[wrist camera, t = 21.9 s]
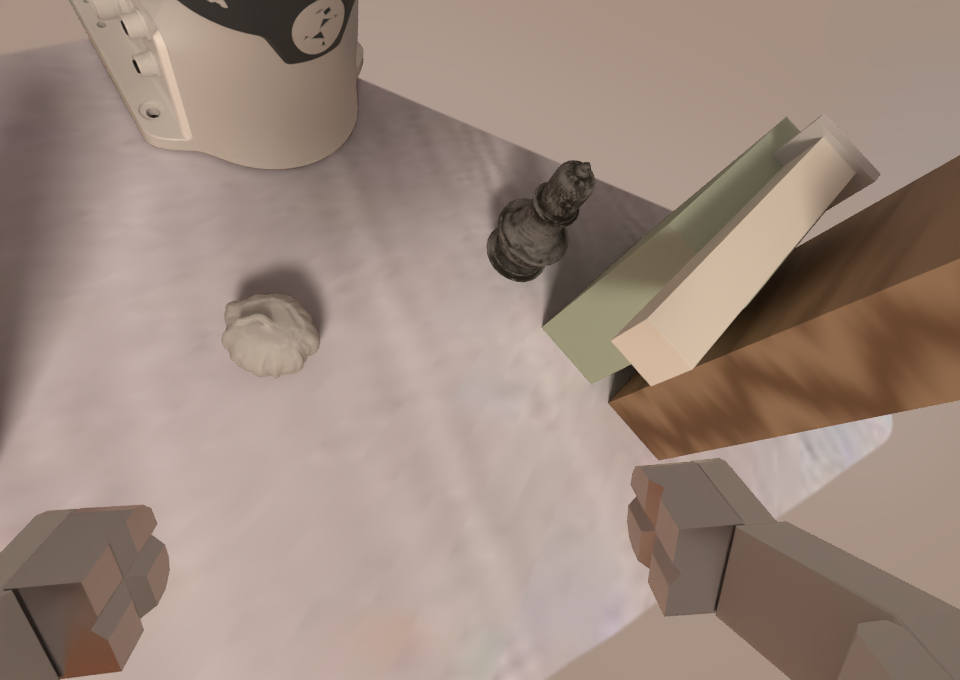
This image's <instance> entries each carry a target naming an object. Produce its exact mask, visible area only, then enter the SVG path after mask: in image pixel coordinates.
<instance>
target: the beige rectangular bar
mask: <svg viewBox="0 0 960 680" xmlns="http://www.w3.org/2000/svg"><path fill="white" fill-rule="evenodd" d="M772 156H773V157H774V158H775V159H776V160H777V161H778V162H779V163H780V164H781V165H782V166H783V167H782V168H781V169H780V170H779V171H778V172H777V173H776V174H775V175H774V176H773V177H772V178H771V179H770V180H769V182H768V183H767V184H766V185H765V186H764V187H763V188H762V189H761V190H760V191H759V192H758V193H757V194H756V195H755V196H754V197H753V198H752V199H751V200H750V201H749V202H748V203H747V204H746V205H745V206H744V207H743V208H742V209H741V210H740V211H739V212H738V213H737V214H736V215H735V216H734V217H733V218H732V219H731V220H730V221H729V222H728V223H727V224H726V225H725V226H724V227H723V228H722V229H721V230H720V231H719V232H718V233H717V234H716V235H715V236H714V237H713V238H712V239H711V240H710V241H709V242H708V243H707V244H706V245H705V246H704V247H703V248H702V249H701V250H700V251H699V252H698V253H697V254H696V255H695V256H694V257H693V258H692V259H691V260H690V261H689V262H688V263H687V264H686V265H685V266H684V267H683V268H682V269H681V270H680V271H679V272H678V273H677V274H676V275H675V276H674V277H673V278H672V279H671V280H670V281H669V282H668V283H667V284H666V285H665V286H664V287H663V288H662V289H661V290H660V291H659V292H658V293H657V294H656V295H655V296H654V297H653V298H652V299H651V300H650V301H649V302H648V303H647V304H646V305H645V306H644V307H643V309H642V310H641V311H640V312H639V313H638V314H637V315H636V316H635V317H634V318H633V319H632V320H631V321H630V322H629V323H628V324H627V325H626V326H625V327H624V328H623V329H622V330H621V331H620V332H619V333H618V334H617V335H616V336H615V337H614V338H613V339H612V340H611V342H612V343H613V344H614V345H615V346H616V347H617V349H618V350H619V351H620V352H621V353H622V354H623V355H624V356H625V358H626V359H627V360H628V361H629V362H630V363H631V364H632V365H633V367H634V368H635V369H636V370H637V371H638V372H639V373H640V374H641V376H642V377H643V378H644V379H645V380H646V381H647V382H648V383H649V385H650V386H653V385H656V384H658V383H661V382H663V381H666V380H668V379H671V378H673V377H675V376H678V375H680V374H683V373H685V372H688V371H690V370H692V369H693V368H694V367H695V366H696V365H697V363H698V362H699V361H700V360H701V359H702V357H703V356H704V355H705V354H706V353H707V351H708V350H709V349H710V348H711V347H712V345H713V344H714V343H715V342H716V341H717V339H718V338H719V337H720V336H721V335H722V333H723V332H724V331H725V330H726V329H727V327H728V326H729V325H730V324H731V323H732V321H733V320H734V319H735V318H736V317H737V315H738V314H739V313H740V312H741V311H742V309H743V308H744V307H745V306H746V305H747V303H748V302H749V301H750V300H751V299H752V297H753V296H754V295H755V294H756V293H757V291H758V290H759V289H760V288H761V287H762V285H763V284H764V283H765V282H766V281H767V279H768V278H769V277H770V276H771V275H772V273H773V272H774V271H775V270H776V269H777V267H778V266H779V265H780V264H781V263H782V261H783V260H784V259H785V258H786V257H787V255H788V254H789V253H790V252H791V251H792V249H793V248H794V247H795V246H796V245H797V243H798V242H799V241H800V240H801V239H802V237H803V236H804V235H805V234H806V233H807V231H808V230H809V229H810V228H811V227H812V225H813V224H814V223H815V222H816V221H817V219H818V218H819V217H820V216H821V215H822V213H823V212H825V211H827V210H829V209H830V208H832V207H833V206H835V205H837V204H838V203H840V202H842V201H843V200H845V199H847V198H848V197H850V196H852V195H853V194H855V193H857V192H858V191H860V190H862V189H863V188H865V187H867V186H868V185H870V184H872V183H873V182H875V181H876V180H877V178H878V177H879V176H880V173H879V172H878V171H877V170H876V168H874V166H873V165H872V164H871V163H870V162H869V161H868V160H867V159H866V158H865V157H864V155H863V154H862V153H861V152H860V151H859V150H858V149H857V148H856V147H855V146H854V145H853V144H852V143H851V141H850V140H849V139H848V138H847V137H846V136H845V135H844V134H843V133H842V132H841V131H840V130H839V129H838V127H836V126H835V124H834V123H833V122H832V121H831V120H830V119H829V118H828V117H827V116H826V114H822V115H821V116H820V117H819V118H817V119H816V120H815V121H813V122H812V123H811V124H810V125H808V126H807V127H806V128H804V129H803V130H802V131H801V132H799V133H798V134H797V135H796V136H794V137H793V138H792V139H790V140H789V141H788V142H787V143H785V144H784V145H783V146H782V147H780V148H779V149H778V150H777V151H776V152H775V153H774V154H773V155H772Z"/></svg>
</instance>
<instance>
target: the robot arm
mask: <svg viewBox="0 0 960 680" xmlns="http://www.w3.org/2000/svg"><path fill="white" fill-rule="evenodd" d="M69 1H70V3H71V5H72V6H73V8H74V10H75V12H76V14H77V16H78V18H79V20H80V21H81V23H82V25H83V27H84V29H85V31H86V32H87V34H88V36H89V38H90V40H91V42H92V44H93V45H94V47H95V49H96V51H97V53H98V55H99V56H100V58H101V60H102V62H103V64H104V66H105V68H106V69H107V71H108V73H109V75H110V77H111V79H112V80H113V82H114V84H115V86H116V88H117V90H118V92H119V93H120V95H121V97H122V99H123V101H124V103H125V104H126V106H127V108H128V110H129V112H130V114H131V116H132V117H133V119H134V121H135V123H136V125H137V127H138V128H139V130H140V132H141V134H142V136H143V137H144V139H145V140H146V141H147V142H148V143H149V144H151V145H153V146H156V147H159V148H164V149H172V150H186V151H199V152H203V153H207V154H210V155H213V156H215V157H218V158H221V159H223V160H226V161H229V162H232V163H235V164H239V165H243V166H248V167H253V168H261V169H288V168H295V167H300V166H305V165H308V164H311V163H314V162H317V161H319V160H321V159H323V158H325V157H327V156H329V155H330V154H332V153H333V152H335V151H336V150H337V149H338V148H339V147H340V146H341V145H343V143H344V142H345V141H346V140H347V139H348V137H349V136H350V134H351V132H352V130H353V128H354V126H355V123H356V119H357V114H358V99H357V89H356V80H357V78H358V75H359V73H360V71H361V68H362V65H363V49H362V46H361V45H360V44H359V43H358V42H357V36H358V0H69ZM152 115H158V116H159V117H157V118H151V117H150V116H152ZM631 487H632V489H633V490H634V492H635V494H636V497H635V499H634V500H633V501H632V502H631V503H630V504H629V505H628V516H627V524H628V532H629V538H630V542H631V545H632V548H633V551H634V553H635V555H636V557H637V560H638V561H639V562H641V563H642V564H643V565H645V566H646V567H648V568H649V569H650V570H649V578H648V583H649V585H650V588H651V590H652V592H653V594H654V596H655V598H656V600H657V602H658V604H659V607H660V609H661V611H662V613H663V615H664V616H678V615H692V614H706V613H716V616H717V617H718V618H719V619H720V620H722V621H723V622H724V623H725V624H726V625H727V626H729V627H730V628H731V629H732V630H733V631H734V632H736V633H737V634H738V635H739V636H740V637H742V638H743V639H744V640H745V641H746V642H748V643H749V644H750V645H751V646H752V647H753V648H755V649H756V650H757V651H758V652H759V653H760V654H762V655H763V656H764V657H765V658H766V659H768V660H769V661H770V662H771V663H772V664H773V665H775V666H776V667H777V668H778V669H779V670H781V671H782V672H783V673H784V674H785V675H786V676H788V677H789V678H790V679H791V680H960V609H958V608H956V607H954V606H952V605H950V604H948V603H946V602H944V601H942V600H940V599H938V598H936V597H934V596H932V595H930V594H928V593H926V592H924V591H922V590H920V589H918V588H916V587H915V586H913V585H910V584H909V583H906V582H905V581H903V580H901V579H899V578H897V577H895V576H893V575H891V574H889V573H887V572H885V571H883V570H881V569H879V568H877V567H875V566H873V565H871V564H869V563H867V562H865V561H863V560H861V559H859V558H857V557H855V556H853V555H851V554H849V553H847V552H845V551H843V550H841V549H840V548H838V547H836V546H834V545H832V544H829V543H828V542H826V541H824V540H822V539H820V538H818V537H816V536H814V535H812V534H810V533H808V532H806V531H804V530H802V529H800V528H798V527H796V526H794V525H792V524H790V523H788V522H777V521H776V520H775V519H774V518H773V516H772V515H771V514H770V513H769V512H768V511H767V509H766V508H765V507H764V506H763V505H762V504H761V502H760V501H759V500H758V499H757V498H756V496H755V495H754V494H753V493H752V492H751V491H750V489H749V488H748V487H747V486H746V485H745V484H744V482H743V481H742V480H741V479H740V478H739V476H738V475H737V474H736V473H735V472H734V471H733V469H732V468H731V467H730V466H729V465H728V464H727V462H726V461H724V460H722V459H720V458H714V459H705V460H695V461H691V462H682V463H670V464H658V465H646V466H635V469H634V471H633V473H632V479H631ZM156 525H157V521H156V519H155V516H154V514H153V512H152V509H151V508H150V507H147V506H144V505H130V506H112V507H94V508H80V509H67V510H51V511H46V512H44V513H41V514H39V515H36V516H35V517H34V518H33V519H32V520H31V521H30V523H29V524H28V525H27V526H26V527H25V528H24V529H23V530H22V531H21V532H20V533H19V534H18V535H17V536H16V537H15V538H14V539H13V540H12V541H11V542H10V543H9V544H8V545H7V547H6V548H5V549H4V550H3V551H2V552H1V553H0V680H60V679H65V678H73V677H81V676H88V675H96V674H104V673H112V672H119V671H122V670H123V668H124V666H125V664H126V662H127V661H128V659H129V657H130V655H131V653H132V651H133V650H134V648H135V646H136V644H137V642H138V640H139V638H140V637H141V635H142V633H143V631H144V629H143V626H142V622H141V619H140V618H142V617H143V616H144V615H145V614H147V613H148V612H149V611H150V610H152V609H153V608H154V607H156V606H157V605H158V603H159V601H160V599H161V597H162V595H163V593H164V591H165V589H166V585H167V580H168V575H169V571H170V568H169V556H168V553H167V550H166V547H165V544H164V543H162V542H161V541H159V540H158V539H157V538H155V537H154V536H152V535H151V534H152V533H153V531H154V529H155V527H156Z"/></svg>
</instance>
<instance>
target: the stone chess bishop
mask: <svg viewBox="0 0 960 680" xmlns="http://www.w3.org/2000/svg"><path fill="white" fill-rule="evenodd" d="M594 188H595V178H594V175H593V172H592V171H591V165H590V163H589V162H584V163H582V162H580V161H567V162H565V163H563V164H562V165H561V166H560V167H559V168H558V169H557V170H556V172H555V173H554V175H553V176H552V177H551V179H550V180H549V181H548V182H545V183H543V184H541V185H540V186H538V187H537V188H536V190H535V192H534V196H533V199H517V200H515V201H513V202H510V203H509V204H508V205H507V206H506V207H504V209H503V211H502V212H501V214H500V217H499V222H498V227H499V228H497V229H496V230H494V231H493V232H492V233H491V235H490V237H489V239H488V243H487V254H488V257H489V260H490V262H491V264H492V265H493V267H494V268H495V269H496V270H497V271H498V272H499V273H500V274H501V275H503V276H504V277H506V278H508V279H510V280H513V281H517V282H527V281H531V280H533V279H535V278H537V277H538V276H539V275H540V274H541V273H542V271H543V269H544V267H545V266H547V265H551V264H553V263H555V262H557V261H559V259H560V258H561V257H562V256H563V255H564V254H565V252H566V249H567V246H568V234H567V230H566V227H565V226H568V225H570V224H572V223H573V222H574V221H575V220H576V219H577V216H578V213H579V207H580V206H581V205H582V204H583V203H584V202H585V201H586V200H587V198H588V197H589V196H590V195H591V194H592V192H593V190H594Z"/></svg>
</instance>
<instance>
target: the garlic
mask: <svg viewBox="0 0 960 680" xmlns="http://www.w3.org/2000/svg"><path fill="white" fill-rule="evenodd" d="M225 322H226V330H225V332H224V333H223V335H222V344H223V346H224V347H225V349H226V350H228V351H229V353H230V358H231V360H232V361H234V362H235V363H236V364H237V366H239V367H243V369H244V370H245V371H248V372H251V373H253V374H254V375H256V376H259V377H266V376H271V375H272V376H273V377H274V378H278V377H279V376H280V375H282V374H293V373H296V372H298V371H300V370H301V369H302V368H303V365H304V362H305V361H306V359H307V356H309V355H312V354H314V353H316V352H317V350H318V349H319V344H320V336H319V333H318V331H317V330H316V327H315V326H314V324H313V323H312V317H311V315H310V314H309V313H308V312H307V311H306V310H305V309H304V308H303V307H302V306H301V305H300V304H299V302H298V301H297V300H296V299H294V298H292V297H291V296H288V295H283V294H279V293H277V294H268V295H262V294H255V295H253V296H251V297H250V298H247V299H244V300H242V301H234V302H230V303H228V304H227V305H226V310H225Z"/></svg>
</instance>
